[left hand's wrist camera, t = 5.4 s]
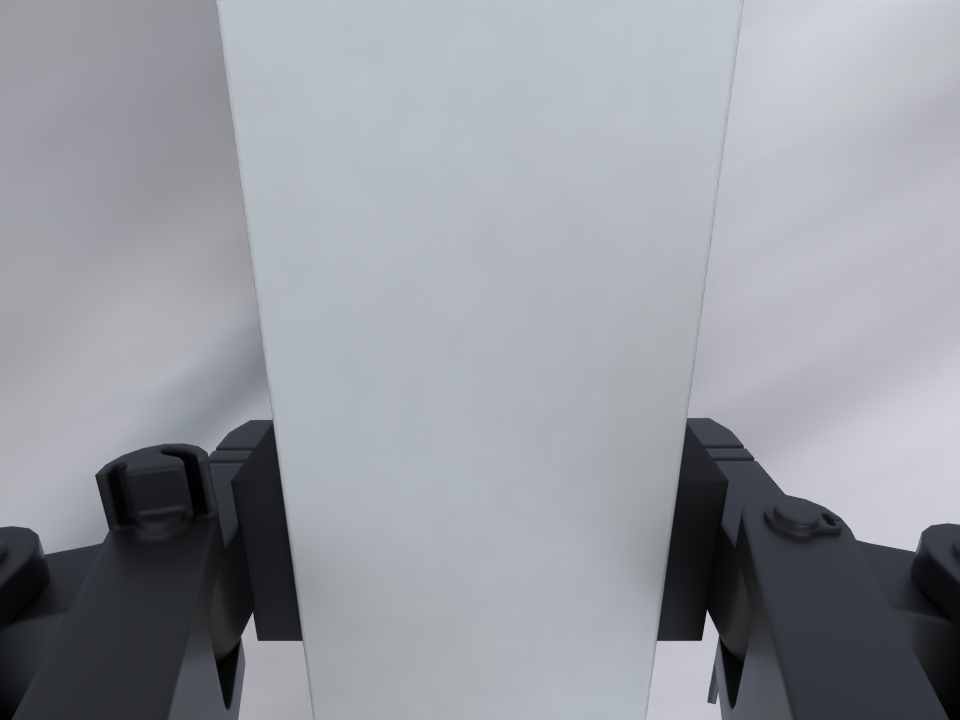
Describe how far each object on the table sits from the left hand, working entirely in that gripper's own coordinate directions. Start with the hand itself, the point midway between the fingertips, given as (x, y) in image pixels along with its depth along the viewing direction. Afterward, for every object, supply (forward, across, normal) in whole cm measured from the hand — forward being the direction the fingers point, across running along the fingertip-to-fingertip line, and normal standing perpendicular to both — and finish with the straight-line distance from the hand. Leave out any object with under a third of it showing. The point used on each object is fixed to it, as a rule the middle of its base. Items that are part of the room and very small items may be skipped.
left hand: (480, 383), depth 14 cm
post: (+1, 0, -25) cm, 25 cm away
